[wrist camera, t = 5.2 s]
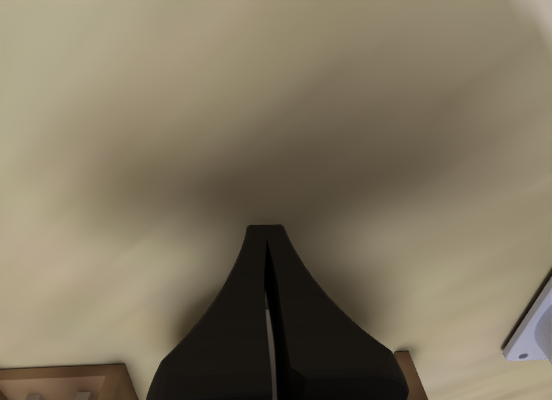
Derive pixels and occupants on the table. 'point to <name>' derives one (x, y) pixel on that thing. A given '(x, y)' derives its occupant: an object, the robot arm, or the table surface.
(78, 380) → the dish rack
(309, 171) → the table surface
